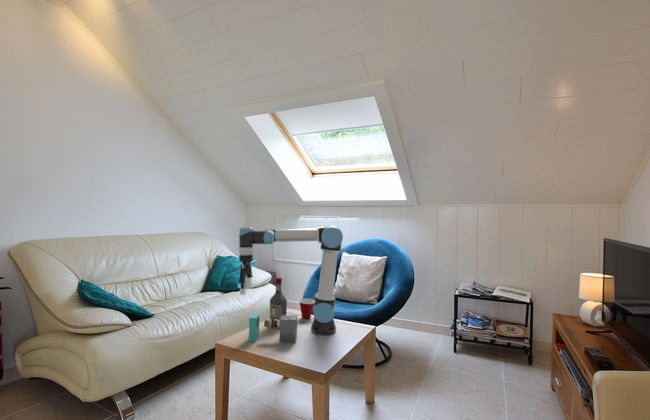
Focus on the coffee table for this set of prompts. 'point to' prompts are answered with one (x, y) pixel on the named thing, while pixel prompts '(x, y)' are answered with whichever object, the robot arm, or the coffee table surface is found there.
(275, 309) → the liquor
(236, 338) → the coffee table surface
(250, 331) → the socket
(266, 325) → the brass tube
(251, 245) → the robot arm
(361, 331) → the coffee table surface
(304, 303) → the plastic cup
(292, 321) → the grey matte cuboid
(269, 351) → the coffee table surface
